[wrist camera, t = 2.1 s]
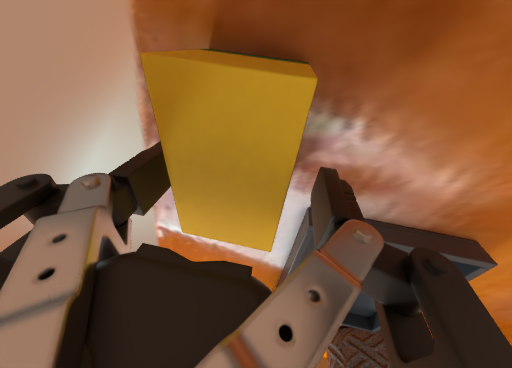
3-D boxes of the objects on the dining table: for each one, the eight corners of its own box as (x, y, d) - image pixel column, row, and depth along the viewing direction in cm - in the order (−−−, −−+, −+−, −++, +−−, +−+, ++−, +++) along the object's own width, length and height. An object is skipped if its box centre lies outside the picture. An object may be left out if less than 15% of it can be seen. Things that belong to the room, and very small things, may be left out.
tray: (307, 207, 15) (309, 225, 14) (476, 241, 14) (498, 265, 13) (274, 292, 26) (272, 308, 24) (370, 315, 25) (375, 333, 23)
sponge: (207, 48, 10) (138, 52, 6) (309, 62, 10) (318, 77, 5) (214, 180, 15) (181, 232, 11) (278, 193, 15) (270, 252, 11)
